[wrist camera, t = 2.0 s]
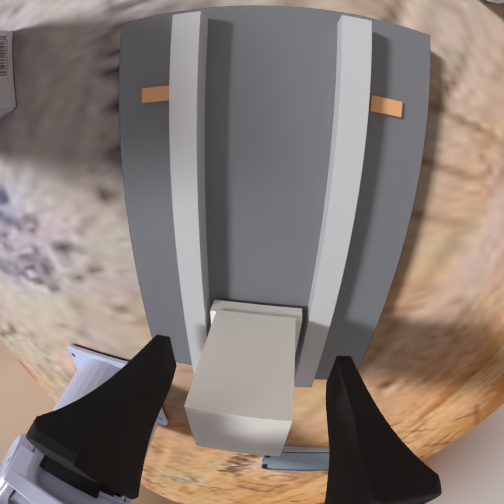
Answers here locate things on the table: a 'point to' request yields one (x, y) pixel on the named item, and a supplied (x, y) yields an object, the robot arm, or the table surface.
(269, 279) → the grey slider track
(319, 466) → the smartphone
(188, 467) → the table surface
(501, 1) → the supplement bottle
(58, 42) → the table surface
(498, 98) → the table surface
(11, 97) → the coffee box
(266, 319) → the fader tab
